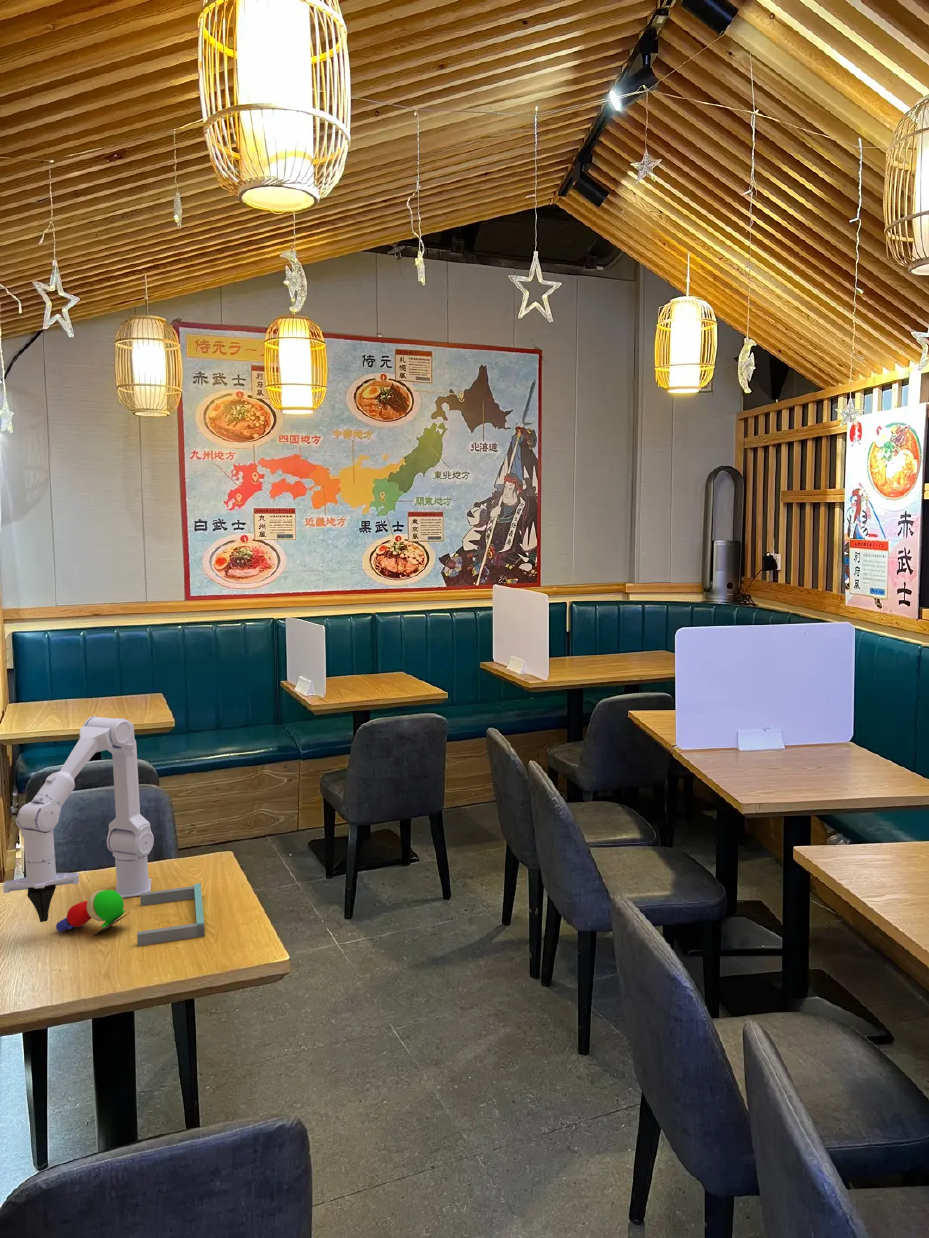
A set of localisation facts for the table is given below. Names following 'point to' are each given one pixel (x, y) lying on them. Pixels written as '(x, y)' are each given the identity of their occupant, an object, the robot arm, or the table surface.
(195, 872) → the table surface
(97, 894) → the toy
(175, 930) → the bay
